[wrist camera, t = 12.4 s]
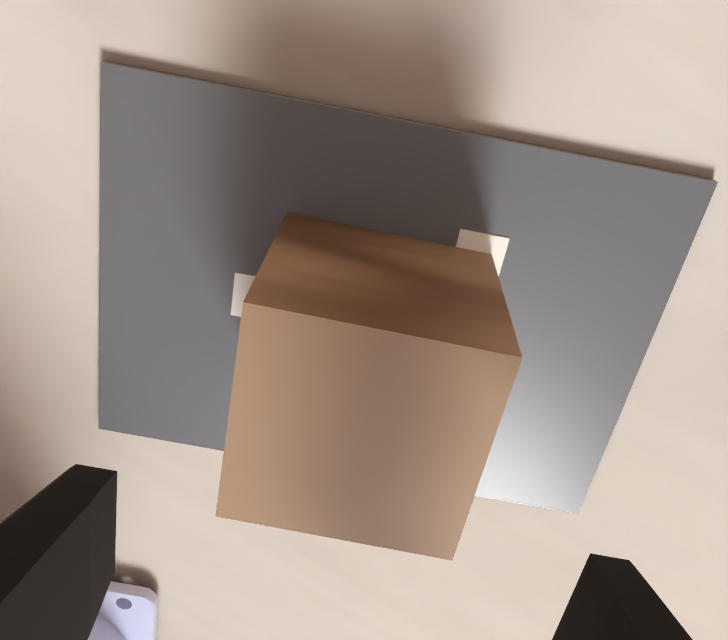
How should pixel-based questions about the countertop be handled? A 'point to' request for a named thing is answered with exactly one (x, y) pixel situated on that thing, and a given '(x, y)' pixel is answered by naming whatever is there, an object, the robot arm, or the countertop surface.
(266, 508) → the walnut cube
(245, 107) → the letter card
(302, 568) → the countertop surface
